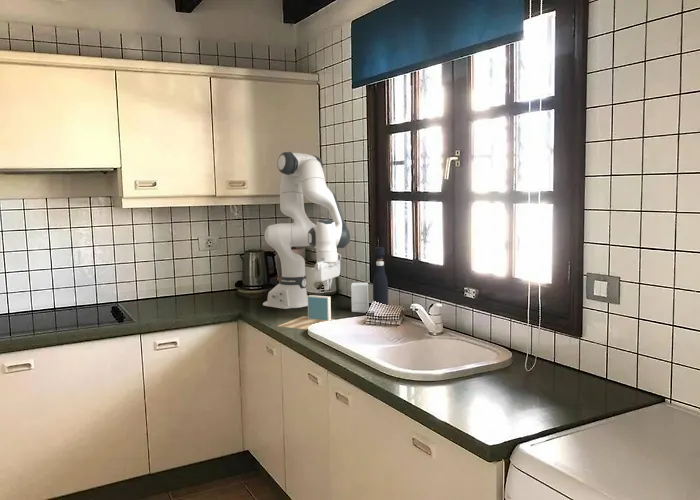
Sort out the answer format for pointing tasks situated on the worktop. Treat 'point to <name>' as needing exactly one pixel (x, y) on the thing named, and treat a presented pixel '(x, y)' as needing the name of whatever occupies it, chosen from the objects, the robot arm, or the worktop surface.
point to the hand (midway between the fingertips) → (327, 289)
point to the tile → (319, 308)
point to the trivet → (301, 323)
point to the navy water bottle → (380, 279)
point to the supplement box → (359, 297)
